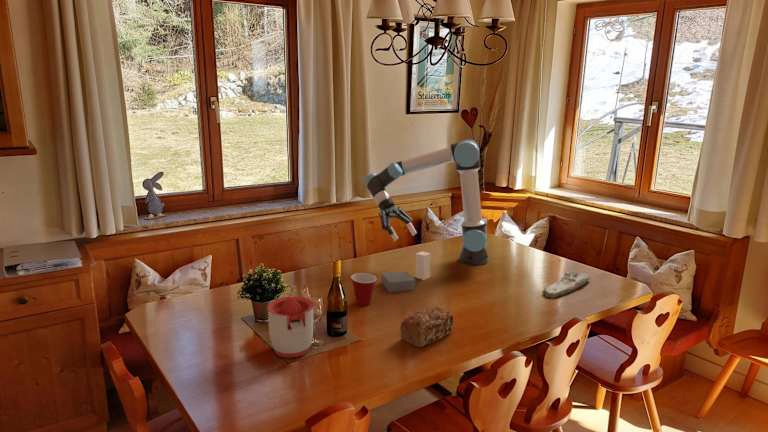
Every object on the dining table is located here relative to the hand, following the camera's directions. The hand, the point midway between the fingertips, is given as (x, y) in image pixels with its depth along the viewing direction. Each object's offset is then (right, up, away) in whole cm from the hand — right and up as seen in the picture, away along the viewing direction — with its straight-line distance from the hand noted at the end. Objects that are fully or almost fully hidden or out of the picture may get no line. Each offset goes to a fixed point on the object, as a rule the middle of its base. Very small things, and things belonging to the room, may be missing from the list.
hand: (405, 237), depth 258 cm
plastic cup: (-19, -27, -34) cm, 47 cm away
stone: (+74, -23, -13) cm, 78 cm away
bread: (+5, -34, -62) cm, 71 cm away
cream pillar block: (+8, -19, -3) cm, 21 cm away
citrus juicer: (-42, -37, -75) cm, 94 cm away
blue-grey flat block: (-4, -22, -14) cm, 27 cm away
